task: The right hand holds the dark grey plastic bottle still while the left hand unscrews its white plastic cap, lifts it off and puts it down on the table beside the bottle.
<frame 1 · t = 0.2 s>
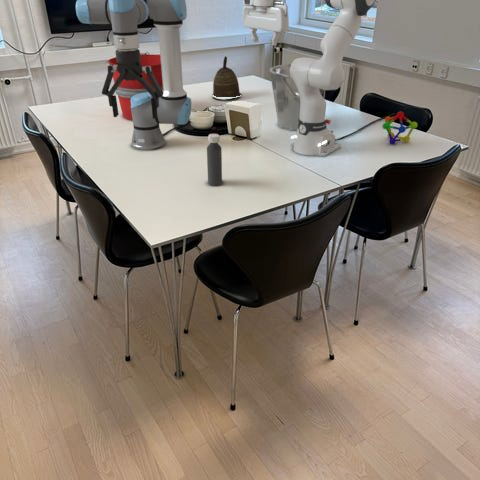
left hand: (135, 116, 150), 28 cm above the table, tool pointing down, fingers open, 13 cm apart
right hand: (264, 43, 159), 48 cm above the table, tool pointing down, fingers open, 8 cm apart
cap: (213, 136, 161), point 19 cm above the table, screwed on, not yet turned
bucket: (295, 125, 233), on the table
educational toy: (395, 143, 211), on the table
bottle: (215, 183, 171), on the table
bucket 2: (145, 114, 248), on the table
bell: (226, 97, 281), on the table
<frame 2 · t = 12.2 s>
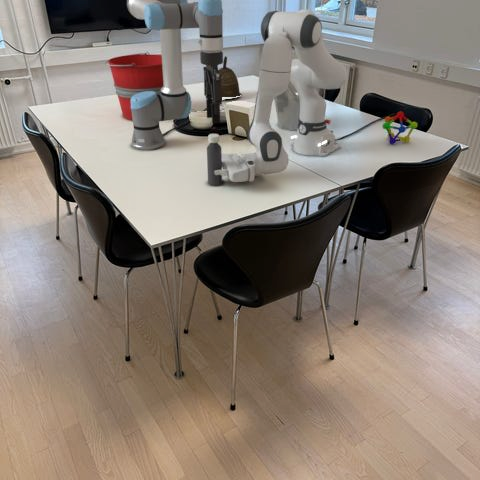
left hand: (213, 120, 158), 25 cm above the table, tool pointing down, fingers open, 6 cm apart
right hand: (212, 168, 168), 6 cm above the table, tool horizontal, fingers closed on bottle, 5 cm apart
bottle: (215, 183, 171), on the table, touching right hand
everything else where it was.
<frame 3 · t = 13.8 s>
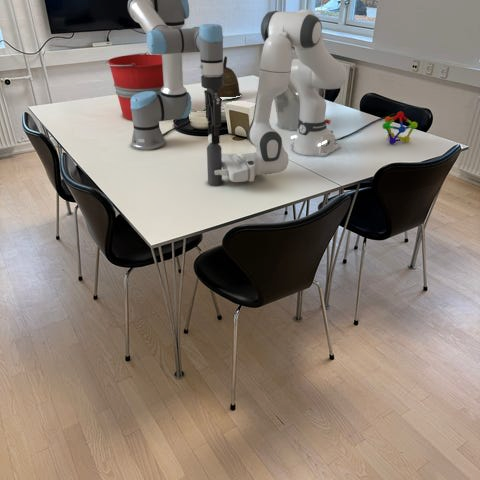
left hand: (213, 141, 162), 17 cm above the table, tool pointing down, fingers closed on cap, 4 cm apart
right hand: (212, 168, 168), 6 cm above the table, tool horizontal, fingers closed on bottle, 5 cm apart
cap: (213, 136, 161), point 19 cm above the table, screwed on, not yet turned, touching left hand
bottle: (215, 183, 171), on the table, touching right hand
everything else where it was.
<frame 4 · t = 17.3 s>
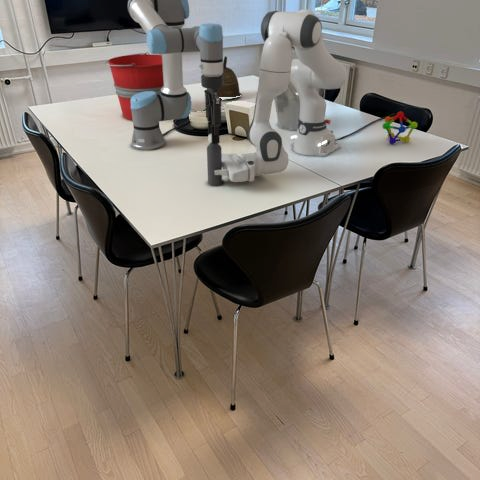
left hand: (213, 141, 162), 17 cm above the table, tool pointing down, fingers closed on cap, 4 cm apart
right hand: (212, 168, 168), 6 cm above the table, tool horizontal, fingers closed on bottle, 5 cm apart
cap: (213, 136, 161), point 19 cm above the table, turned 107° so far, risen 0.1 cm, still on its thread, touching left hand
bottle: (215, 183, 171), on the table, touching right hand
everything else where it was.
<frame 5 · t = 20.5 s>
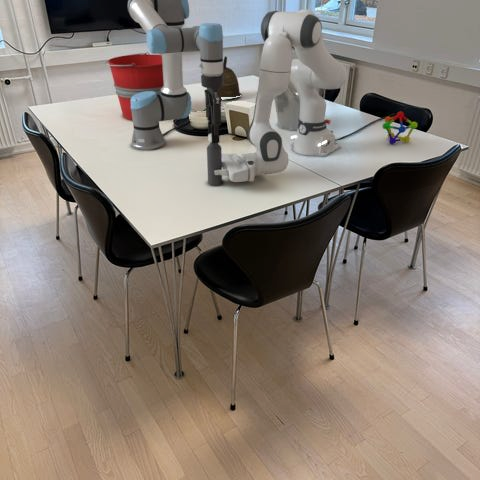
left hand: (213, 140, 162), 17 cm above the table, tool pointing down, fingers closed on cap, 4 cm apart
right hand: (212, 168, 168), 6 cm above the table, tool horizontal, fingers closed on bottle, 5 cm apart
cap: (213, 135, 161), point 19 cm above the table, turned 215° so far, risen 0.2 cm, still on its thread, touching left hand
bottle: (215, 183, 171), on the table, touching right hand
everything else where it was.
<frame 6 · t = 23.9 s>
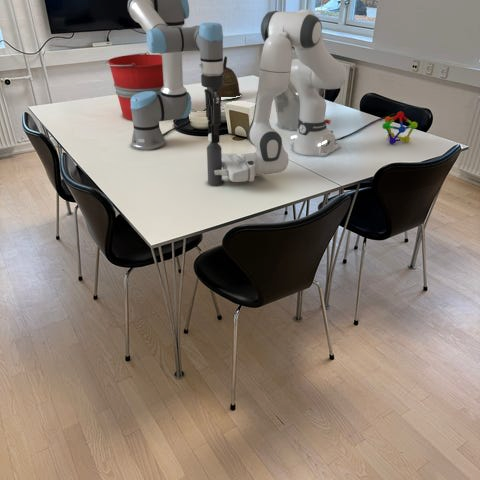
left hand: (213, 140, 162), 17 cm above the table, tool pointing down, fingers closed on cap, 4 cm apart
right hand: (212, 168, 168), 6 cm above the table, tool horizontal, fingers closed on bottle, 5 cm apart
cap: (213, 135, 161), point 19 cm above the table, turned 322° so far, risen 0.4 cm, still on its thread, touching left hand
bottle: (215, 183, 171), on the table, touching right hand
everything else where it was.
when the left hand's fingers open (1 cm above the table, at t = 30.3 s): cap drops 1 cm, point 2 cm above the table.
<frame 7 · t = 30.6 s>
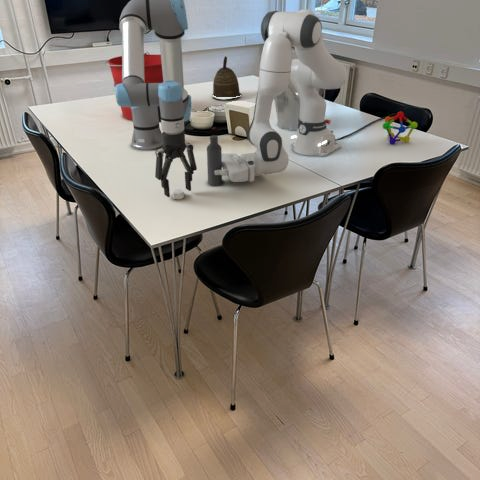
left hand: (177, 192, 160), 2 cm above the table, tool pointing down, fingers open, 8 cm apart
right hand: (212, 168, 168), 6 cm above the table, tool horizontal, fingers closed on bottle, 5 cm apart
cap: (178, 192, 160), point 2 cm above the table, off its thread
bottle: (215, 183, 171), on the table, touching right hand
everything else where it was.
when the right hand's fingers open (6 cm above the table, at t = 31.7 s): bottle stays where it is, on the table.
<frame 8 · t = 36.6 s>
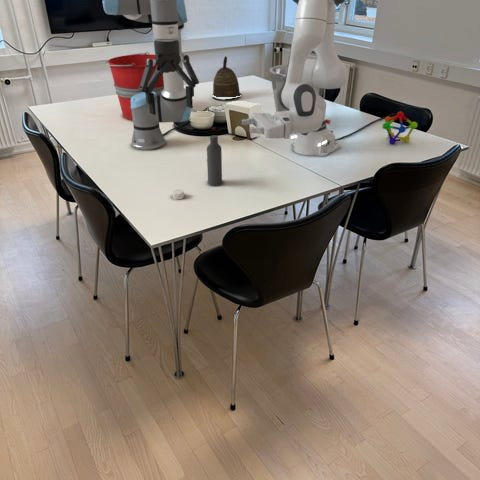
left hand: (171, 110, 144), 31 cm above the table, tool pointing down, fingers open, 13 cm apart
right hand: (245, 126, 163), 21 cm above the table, tool horizontal, fingers open, 8 cm apart
bottle: (215, 183, 171), on the table
everything else where it was.
at the end: cap came off its thread; cap point 1.8 cm above the table; the left hand is holding nothing; the right hand is holding nothing; bottle tilted 0°; bottle moved 0.0 cm from its start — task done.
